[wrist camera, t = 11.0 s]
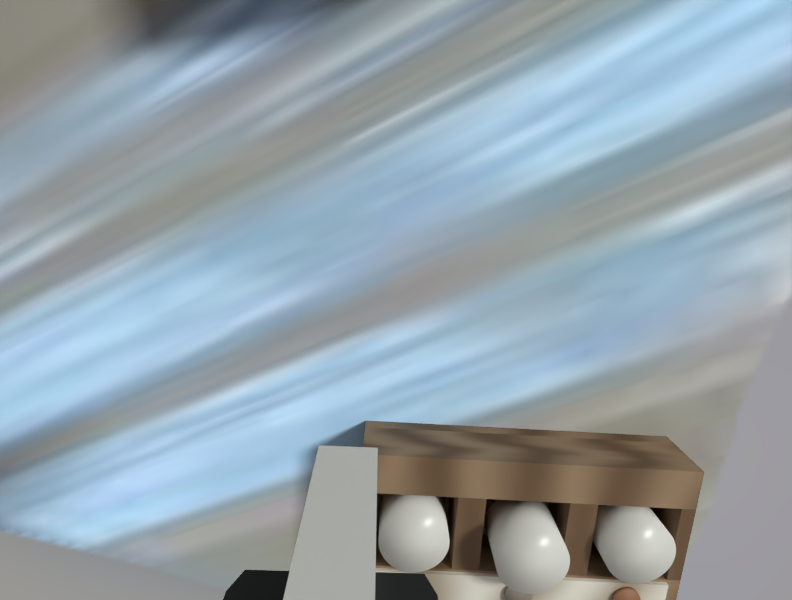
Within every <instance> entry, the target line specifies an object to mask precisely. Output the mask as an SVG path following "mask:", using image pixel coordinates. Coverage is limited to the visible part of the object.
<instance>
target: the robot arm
mask: <svg viewBox="0 0 792 600" xmlns="http://www.w3.org/2000/svg"><path fill="white" fill-rule="evenodd" d="M377 464H378V448H373V447H348V446H323V445H319V446H318V451H317V455H316V459H315V464H314V468H313V472H312V477H311V481H310V485H309V490H308V494H307V498H306V503H305V507H304V511H303V515H302V520H301V524H300V528H299V533H298V537H297V541H296V546H295V550H294V554H293V559H292V563H291V567H290V571H266V570H245V571H244V572H243V573H242V574H241V575H240V576H239V577H238V578H237V580H236V581H235V582H234V583H233V584H232V585H231V586H230V588H229V589H228V590H227V591H226V593H225V596H224V599H223V600H438V595H437V594H436V592H435V590H434V589H433V587H432V585H431V584H430V582H429V580H428V579H427V577H426V575H425V574H421V573H388V572H376V520H377Z"/></svg>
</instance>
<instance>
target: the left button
mask: <svg viewBox="0 0 792 600" xmlns="http://www.w3.org/2000/svg"><path fill="white" fill-rule="evenodd" d="M378 544H379V549H380V552H381V554H382V556H383V558H384V559H385V560H386V561H387V562H388V563H389V564H390V565H391V566H393V567H394V568H396V569H399V570H401V571H405V572H422V571H426V570H429V569H431V568H433V567H435V566H436V565H438V564H439V563H440V562H441V561H442V560H443V559H444V557H445V556H446V554H447V552H448V549H449V544H450V539H449V532H448V525H447V519H446V512H445V505H444V498H443V497H439V496H419V495H400V494H382V496H381V501H380V519H379V539H378Z"/></svg>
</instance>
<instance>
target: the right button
mask: <svg viewBox="0 0 792 600" xmlns="http://www.w3.org/2000/svg"><path fill="white" fill-rule="evenodd" d="M593 542H594V544H595V546H596V548H597V550H598V551H599V553H600V555H601V557H602V559H603V561H604V562H605V564H606V566H607V568H608V570H609V571H610V572H611V574H612V575H614V576H615V577H616V578H618V579H619V580H621V581H624V582H628V583H634V584H635V583H646V582H649V581H652V580H655V579H657V578H658V577H660V576H661V575H663V574H664V573H665V572H666V571H667V570H668V569H669V568H670V567H671V565H672V563H673V561H674V559H675V555H676V545H675V541H674V539H673V537H672V536H671V534H670V533H669V532H668V530H667V529H666V528H665V526H664V525H663V524H662V523H661V521H660V520H659V519H658V517H657V516H656V515H655V514H654V512H653V511H652V510H651V508H650V507H634V506H615V505H598V511H597V517H596V523H595V528H594V534H593Z"/></svg>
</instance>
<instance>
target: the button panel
mask: <svg viewBox="0 0 792 600" xmlns="http://www.w3.org/2000/svg"><path fill="white" fill-rule="evenodd" d="M363 447H373V448H378V464H377V520H376V572H388V573H421V574H425V575H426V577H427V579H428V580H429V582H430V584H431V585H432V587H433V589H434V590H435V592H436V594H437V595H438V600H676V598H677V593H678V589H679V584H680V579H681V575H682V571H683V566H684V561H685V557H686V552H687V548H688V543H689V539H690V534H691V530H692V525H693V521H694V516H695V512H696V507H697V503H698V498H699V494H700V489H701V485H702V480H703V476H704V471H703V470H702V469H701V468H699V467H698V466H697V465H696V464H695V463H694V462H693V461H692V460H691V459H690V458H689V457H688V456H687V455H686V454H685V453H684V452H683V451H681V450H680V449H679V448H678V447H677V446H676V445H675V444H674V443H673V442H672V441H671V440H670V439H669V438H668V437H662V436H643V435H624V434H605V433H586V432H567V431H548V430H529V429H511V428H492V427H473V426H454V425H435V424H416V423H397V422H378V421H366V424H365V432H364V440H363ZM382 494H400V495H419V496H439V497H443V498H444V505H445V512H446V519H447V525H448V532H449V539H450V544H449V549H448V552H447V554H446V556H445V557H444V559H443V560H442V561H441V562H440V563H439V564H438V565H436V566H435V567H433V568H431V569H429V570H426V571H422V572H405V571H401V570H399V569H396V568H394V567H393V566H391V565H390V564H389V563H388V562H387V561H386V560H385V559H384V558H383V556H382V554H381V552H380V549H379V544H378V539H379V519H380V501H381V496H382ZM496 500H517V501H537V502H544V503H545V504H546V505H547V507H548V508H549V511H550V513H551V515H552V517H553V519H554V521H555V524H556V526H557V528H558V530H559V532H560V534H561V536H562V539H563V541H564V543H565V545H566V547H567V549H568V552H569V556H570V566H569V569H568V572H567V574H566V576H565V577H564V579H563V580H562V581H561V582H560V583H559V584H558V585H557V586H555V587H554V588H552V589H550V590H548V591H545V592H542V593H538V594H524V593H519V592H516V591H514V590H512V589H510V588H509V587H507V586H506V585H505V584H504V583H503V582H502V581H501V579H500V578H499V576H498V574H497V570H496V566H495V562H494V558H493V555H492V551H491V547H490V543H489V539H488V535H487V531H486V527H485V517H486V514H487V511H488V509H489V508H490V506H491V505H492V504H493V503H494V502H495V501H496ZM598 505H615V506H634V507H650V508H651V510H652V511H653V512H654V514H655V515H656V516H657V517H658V519H659V520H660V521H661V523H662V524H663V525H664V526H665V528H666V529H667V530H668V532H669V533H670V534H671V536H672V537H673V539H674V541H675V545H676V555H675V559H674V561H673V563H672V565H671V567H670V568H669V569H668V570H667V571H666V572H665V573H664V574H663V575H661V576H660V577H658V578H657V579H655V580H652V581H649V582H646V583H635V584H634V583H628V582H624V581H621V580H619V579H618V578H616V577H615V576H614V575H612V574H611V572H610V571H609V570H608V568H607V566H606V564H605V562H604V561H603V559H602V557H601V555H600V553H599V551H598V550H597V548H596V546H595V544H594V542H593V534H594V528H595V523H596V517H597V511H598Z"/></svg>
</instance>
